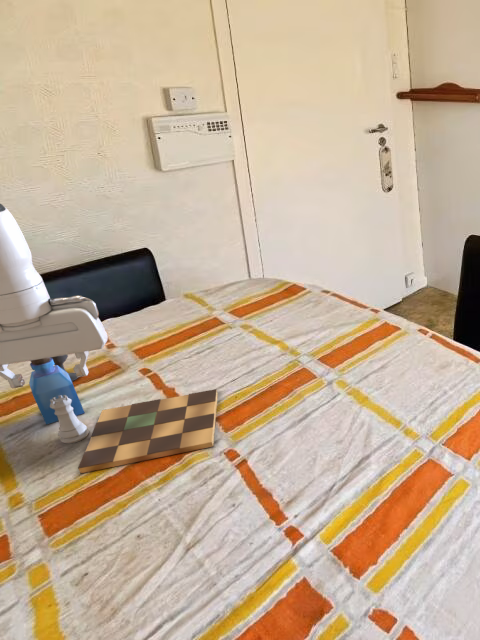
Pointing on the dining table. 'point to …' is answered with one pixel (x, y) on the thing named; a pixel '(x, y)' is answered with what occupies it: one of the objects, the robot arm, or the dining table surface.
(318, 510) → the dining table surface
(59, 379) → the perfume bottle
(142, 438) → the chessboard
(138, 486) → the dining table surface
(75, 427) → the rook chess piece
